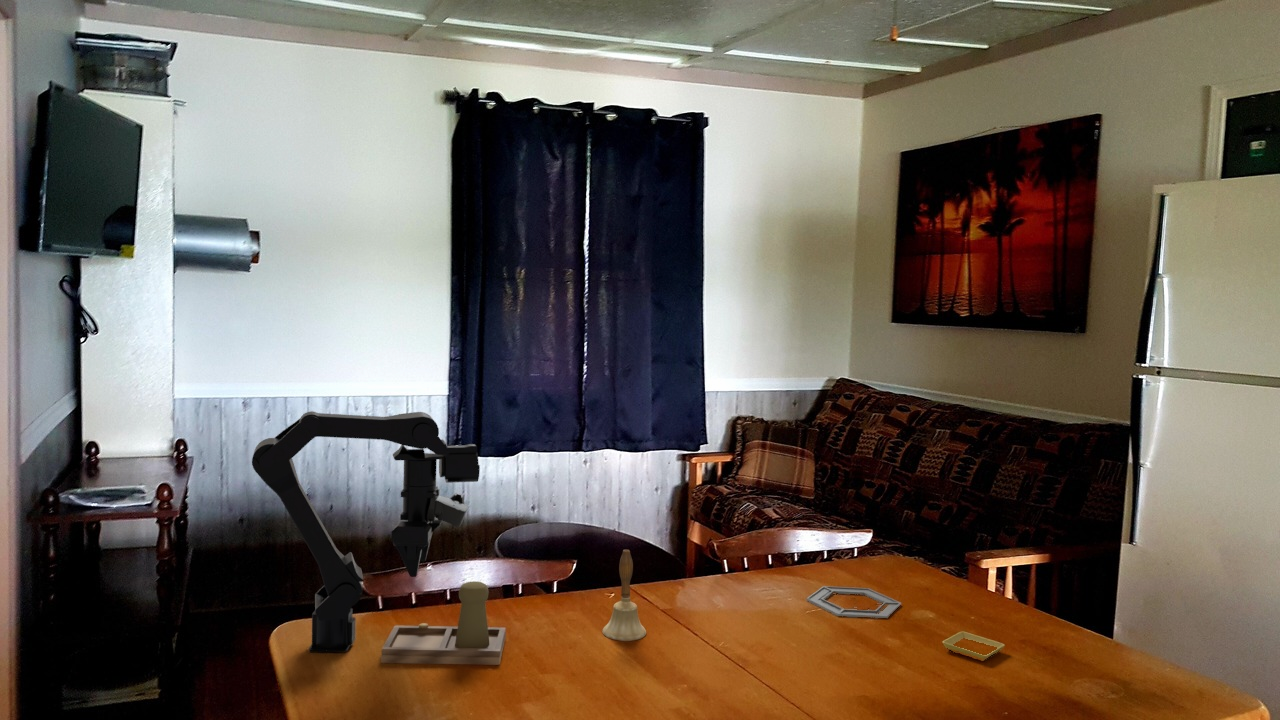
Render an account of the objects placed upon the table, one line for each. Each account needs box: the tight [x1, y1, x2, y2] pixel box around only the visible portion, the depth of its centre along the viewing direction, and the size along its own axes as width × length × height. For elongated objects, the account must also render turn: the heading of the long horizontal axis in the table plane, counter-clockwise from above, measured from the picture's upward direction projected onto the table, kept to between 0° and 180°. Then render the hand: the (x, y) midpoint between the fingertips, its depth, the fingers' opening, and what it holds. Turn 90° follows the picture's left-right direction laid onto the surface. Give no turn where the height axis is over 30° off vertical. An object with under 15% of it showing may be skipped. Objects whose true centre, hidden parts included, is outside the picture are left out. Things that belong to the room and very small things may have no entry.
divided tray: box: [380, 622, 507, 666], centre depth 168 cm, size 20×12×3 cm, turn 93°
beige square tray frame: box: [942, 631, 1006, 660], centre depth 177 cm, size 9×9×2 cm
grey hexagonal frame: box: [806, 585, 902, 619], centre depth 202 cm, size 17×20×1 cm
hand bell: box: [601, 549, 647, 642], centre depth 179 cm, size 8×8×16 cm
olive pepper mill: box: [455, 581, 489, 649], centre depth 167 cm, size 6×6×11 cm
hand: (418, 568), depth 171 cm, fingers open, 9 cm apart
